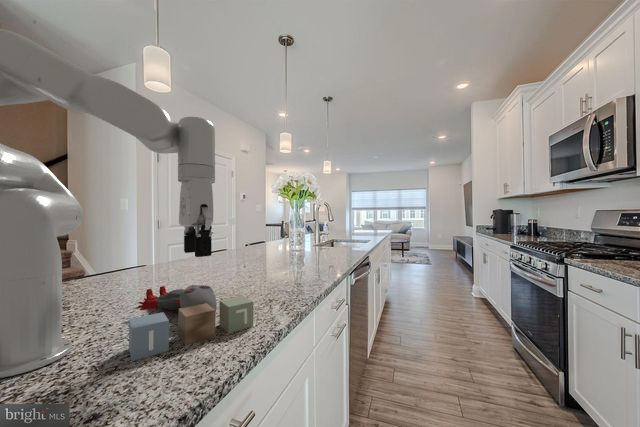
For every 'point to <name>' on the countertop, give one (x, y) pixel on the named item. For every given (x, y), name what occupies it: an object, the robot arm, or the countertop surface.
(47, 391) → the countertop surface
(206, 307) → the walnut block
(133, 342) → the slate block
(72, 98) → the robot arm
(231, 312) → the olive block
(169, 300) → the toy
